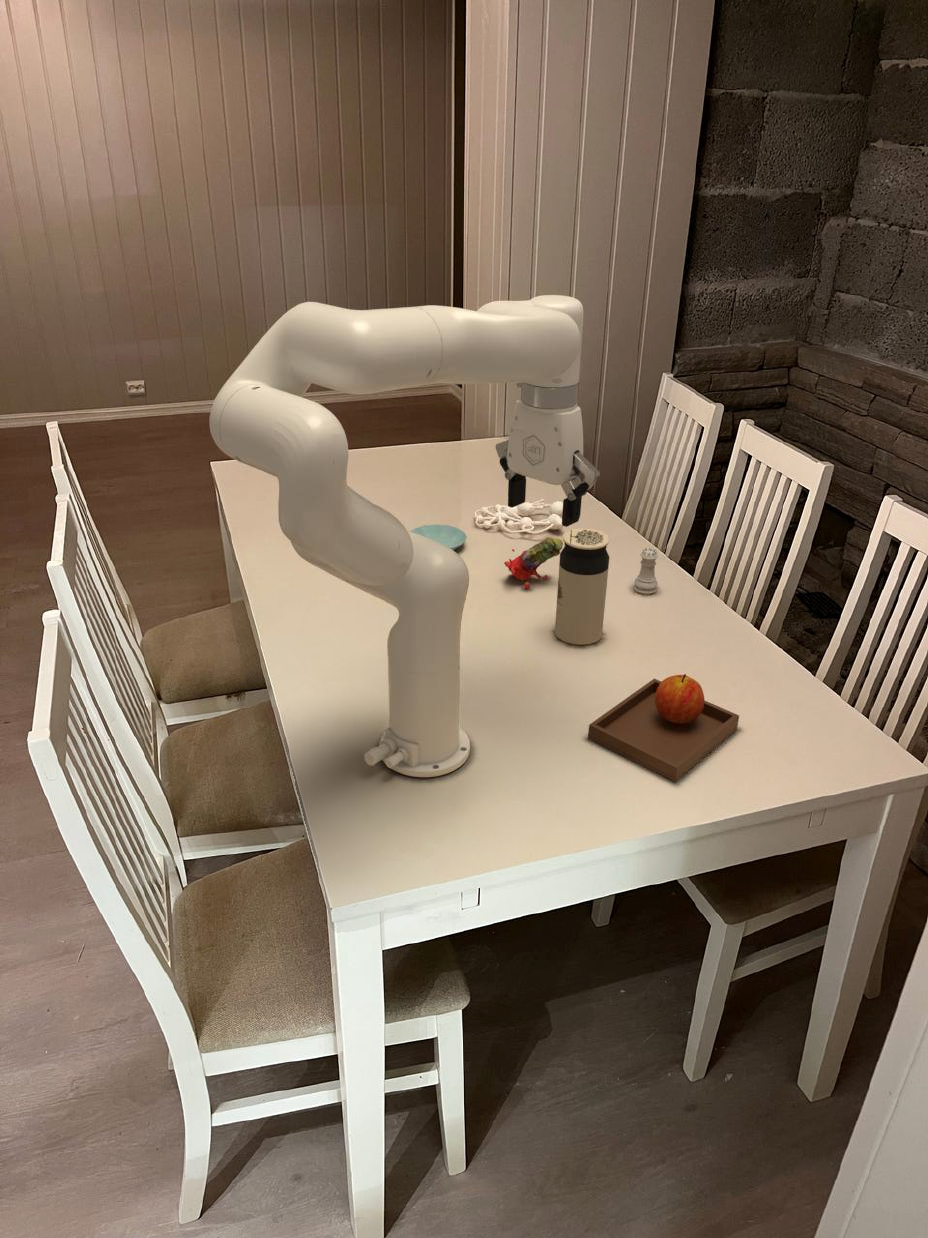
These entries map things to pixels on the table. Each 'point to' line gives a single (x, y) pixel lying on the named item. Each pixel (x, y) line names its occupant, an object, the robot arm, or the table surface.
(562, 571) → the travel mug
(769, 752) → the table surface
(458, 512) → the table surface
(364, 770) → the table surface
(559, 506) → the tangled rod sculpture
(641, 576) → the rook chess piece
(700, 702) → the fruit
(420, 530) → the saucer
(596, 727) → the tray
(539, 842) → the table surface
